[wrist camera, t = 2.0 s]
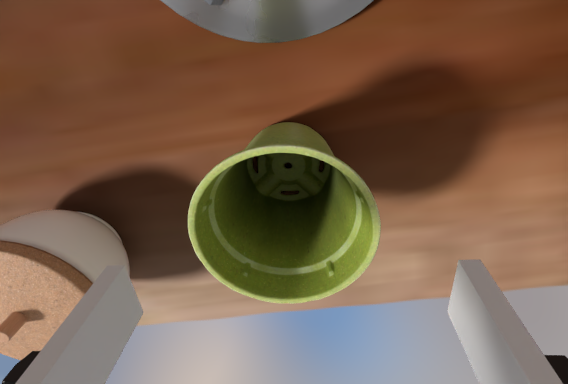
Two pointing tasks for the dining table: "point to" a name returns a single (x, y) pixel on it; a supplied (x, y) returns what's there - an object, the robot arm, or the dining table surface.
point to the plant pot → (284, 219)
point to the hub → (267, 17)
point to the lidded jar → (49, 272)
